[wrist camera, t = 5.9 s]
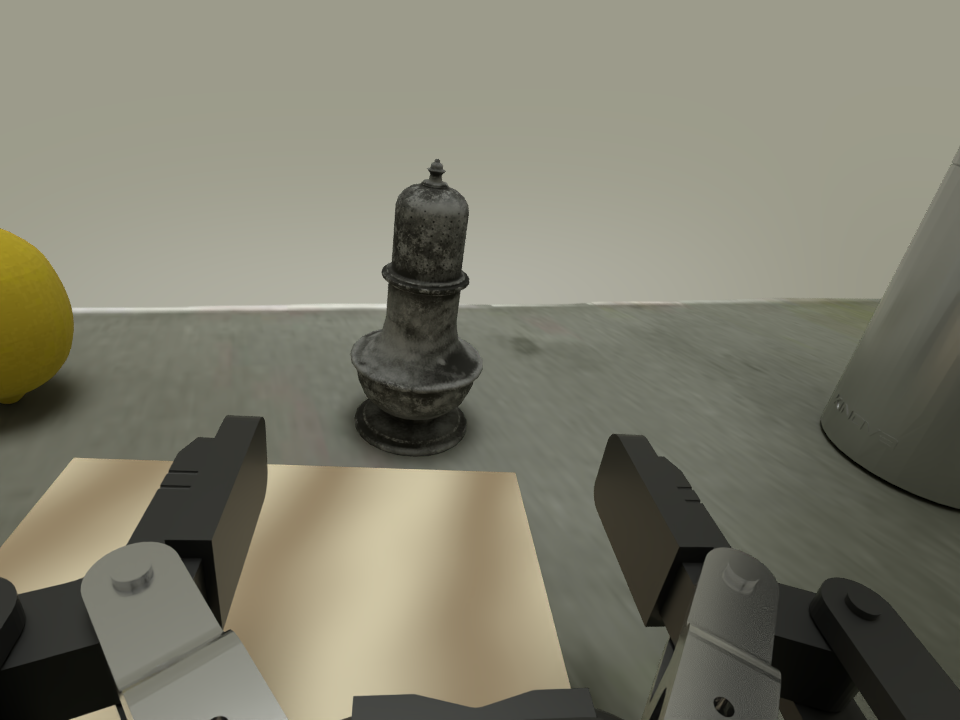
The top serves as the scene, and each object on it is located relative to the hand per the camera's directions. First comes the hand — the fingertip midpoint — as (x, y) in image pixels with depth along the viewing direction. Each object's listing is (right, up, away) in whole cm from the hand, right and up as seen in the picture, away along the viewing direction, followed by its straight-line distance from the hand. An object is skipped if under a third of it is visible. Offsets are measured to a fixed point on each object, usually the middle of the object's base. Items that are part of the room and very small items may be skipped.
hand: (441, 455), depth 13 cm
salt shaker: (-2, -1, +14) cm, 14 cm away
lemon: (-19, 0, +11) cm, 22 cm away
